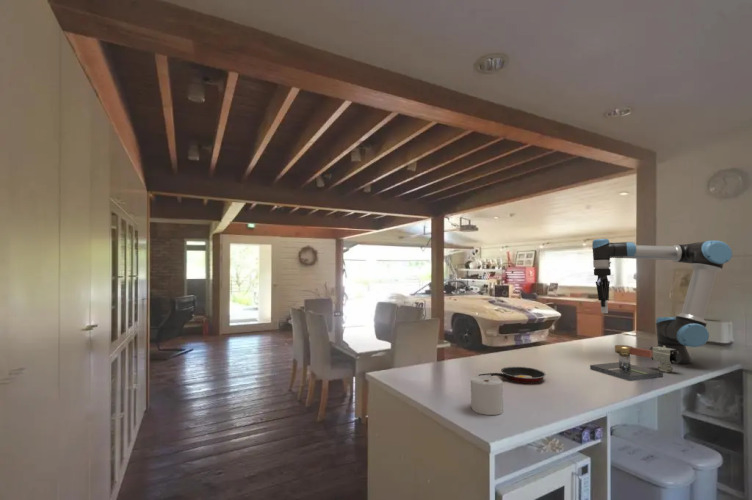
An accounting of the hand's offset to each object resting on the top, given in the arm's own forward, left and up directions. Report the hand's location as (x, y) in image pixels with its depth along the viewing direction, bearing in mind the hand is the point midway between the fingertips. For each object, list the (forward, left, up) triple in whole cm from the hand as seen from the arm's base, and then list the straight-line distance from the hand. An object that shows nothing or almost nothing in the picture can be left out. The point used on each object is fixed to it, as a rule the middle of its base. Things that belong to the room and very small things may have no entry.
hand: (604, 312), depth 185 cm
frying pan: (+66, +9, -27) cm, 71 cm away
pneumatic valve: (-12, +20, -26) cm, 35 cm away
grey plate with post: (+8, +16, -26) cm, 31 cm away
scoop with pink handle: (+7, +19, -17) cm, 27 cm away
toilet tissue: (+96, +35, -26) cm, 105 cm away
